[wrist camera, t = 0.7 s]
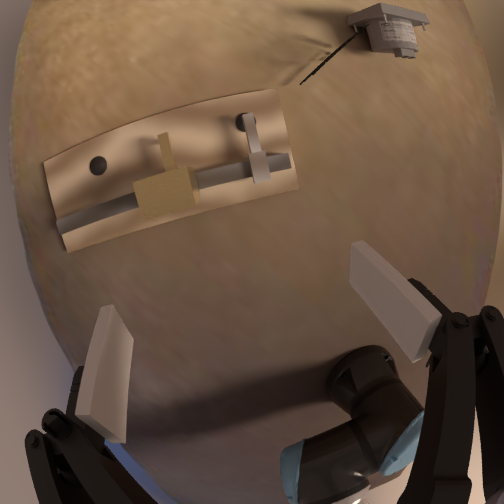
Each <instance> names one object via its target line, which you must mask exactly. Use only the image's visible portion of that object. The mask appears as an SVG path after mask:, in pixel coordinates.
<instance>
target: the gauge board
mask: <svg viewBox="0 0 504 504" xmlns="http://www.w3.org/2000/svg"><path fill="white" fill-rule="evenodd" d="M165 132H168V133H169V136H170V140H171V145H172V149H173V154H174V158H175V162H176V166H177V169H178V168H181V167H185V166H189V167H194V171H195V175H196V179H197V183H198V187H199V191H200V195H201V197H200V199H199V202H198V204H197V206H195V207H192V208H188V209H184V210H181V211H177V212H174V213H170V214H167V215H163V216H160V217H156V218H153V219H150V220H146V221H143V219H142V216H141V213H140V209H139V205H138V202H137V198H136V195H135V191H134V187H133V182H136V181H139V180H142V179H145V178H148V177H151V176H154V175H157V174H161V173H164V172H166V171H165V167H164V163H163V158H162V154H161V150H160V146H159V141H158V137H157V135H159V134H162V133H165ZM43 163H44V168H45V173H46V178H47V182H48V187H49V191H50V195H51V199H52V203H53V207H54V211H55V214H56V218H57V221H56V224H57V228H58V231H59V234H60V235H62V237H63V240H64V243H65V246H66V249H67V252H68V253H70V252H73V251H76V250H79V249H82V248H85V247H88V246H91V245H94V244H97V243H100V242H103V241H106V240H109V239H112V238H115V237H119V236H122V235H125V234H128V233H131V232H135V231H138V230H141V229H145V228H148V227H151V226H155V225H158V224H162V223H165V222H169V221H172V220H176V219H179V218H183V217H186V216H190V215H194V214H197V213H201V212H205V211H209V210H213V209H216V208H220V207H224V206H228V205H232V204H236V203H240V202H244V201H249V200H253V199H257V198H261V197H265V196H270V195H274V194H279V193H283V192H288V191H292V190H297V189H299V186H298V181H297V176H296V171H295V166H294V161H293V157H292V152H291V147H290V143H289V138H288V134H287V130H286V125H285V121H284V117H283V113H282V109H281V105H280V101H279V97H278V93H277V89H269V90H262V91H255V92H249V93H243V94H238V95H232V96H227V97H222V98H218V99H213V100H209V101H204V102H200V103H196V104H192V105H188V106H185V107H181V108H177V109H174V110H170V111H167V112H163V113H160V114H157V115H154V116H151V117H148V118H145V119H142V120H139V121H136V122H133V123H130V124H128V125H125V126H122V127H119V128H117V129H114V130H112V131H109V132H107V133H104V134H102V135H99V136H97V137H95V138H92V139H90V140H88V141H86V142H83V143H81V144H79V145H77V146H75V147H73V148H71V149H69V150H67V151H64V152H62V153H60V154H59V155H57V156H55V157H53V158H51V159H49V160H47V161H45V162H43Z"/></svg>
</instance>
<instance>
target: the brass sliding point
mask: <svg viewBox="0 0 504 504" xmlns="http://www.w3.org/2000/svg"><path fill="white" fill-rule="evenodd" d="M157 137H158V141H159V146H160V150H161V154H162V158H163V163H164V167H165V171H166V172H164V173H161V174H157V175H154V176H151V177H148V178H145V179H142V180H139V181H136V182H133V187H134V191H135V195H136V198H137V202H138V205H139V209H140V213H141V216H142V219H143V221H146V220H150V219H153V218H156V217H160V216H163V215H167V214H170V213H174V212H177V211H181V210H184V209H188V208H192V207H195V206H197V204H198V202H199V199H200V197H201V195H200V191H199V187H198V183H197V179H196V175H195V171H194V167H189V166H185V167H181V168H178V169H177V166H176V162H175V158H174V154H173V149H172V145H171V140H170V136H169V133H168V132H165V133H162V134H159V135H157Z"/></svg>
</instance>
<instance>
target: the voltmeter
mask: <svg viewBox="0 0 504 504" xmlns="http://www.w3.org/2000/svg"><path fill="white" fill-rule="evenodd" d="M347 22H348V26H354V28H355V32H357V33H356V34H355V35H353V36H352V37H351V38H350V39H348V40H347V41H346V42H345V43H344V44H342V45H341V46H340V47H339V48H338V49H336V50H335V51H334V52H333V53H332V54H331V55H330V56H328V57H327V58H326V59H325V60H324V62H322V63H321V64H320V65H319V66H318V67H317V68H316V69H315V70H314V71H313V72H312V73H311V74H309V75H308V76H307V77H306V78H305V79H304V80H303V81H302V82H301V83H300V85H301V84H302V83H303V82H305V81H306V80H307V79H308V78H309V77H310V76H311V75H314V74H315V73H316V72H317V71H318V70H319V69H320V68H321V67H322V66H323V65H324V64H325V62H328V61H329V60H330V59H331V58H332V57H333V56H334V55H335V54H336V53H337V52H338V51H340V50H341V49H342V48H343V47H344V46H345V45H346V44H347V43H348V42H350V41H351V40H352V39H353V38H354V37H355V36H357V35H358V34H359V33H360V32H361V31H362V30H363V29H364V28H367V32H368V36H369V40H370V45H371V49H372V51H373V52H380V53H394V54H395V57H402V58H408V59H411V58H415V52H418V46H417V42H416V38H415V34H414V30H413V27H414V26H420V25H422V26H423V30H424V31H426V29H425V26H424V25H426V24H430V22H429V20H428V18H427V16H426V14H423V13H420V12H417V11H413V10H409V9H405V8H402V7H397V6H393V5H388V4H384V3H378V4H376V5H373V6H371V7H368V8H366V9H363V10H361V11H359V12H356V13H354V14H352V15H349V16H347ZM356 26H358V27H364V28H363V29H361V30H360V31H357V28H356Z"/></svg>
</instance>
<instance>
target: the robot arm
mask: <svg viewBox="0 0 504 504" xmlns="http://www.w3.org/2000/svg"><path fill="white" fill-rule="evenodd" d="M349 284H350V285H351V286H352V287H353V288H354V290H355V291H356V292H357V293H358V294H359V296H360V297H361V298H362V299H363V300H364V302H365V303H366V304H367V305H368V307H369V308H370V309H371V310H372V312H373V313H374V314H375V315H376V317H377V318H378V319H379V320H380V322H381V323H382V324H383V325H384V327H385V328H386V329H387V330H388V332H389V333H390V334H391V336H392V337H393V338H394V339H395V341H396V342H397V343H398V345H399V346H400V347H401V349H402V350H403V351H404V353H405V354H406V355H407V357H408V358H409V359H410V361H411V362H412V363H414V362H416V361H418V360H419V359H421V358H423V357H424V356H425V354H426V352H427V350H428V349H429V350H430V351H431V352H432V354H431V356H430V358H429V360H428V362H427V364H426V367H428V365H429V364H430V368H429V379H428V388H427V396H426V404H425V409H424V408H423V407H422V405H421V404H420V403H419V402H418V400H417V399H416V398H415V397H414V396H413V394H412V393H411V392H410V391H409V390H408V388H407V387H406V386H405V385H404V384H403V383H402V381H401V380H400V378H399V375H398V371H397V368H396V365H395V362H394V359H393V357H392V356H391V354H390V353H389V352H388V351H387V350H386V349H385V348H383V347H381V346H367V347H364V348H361V349H358V350H356V351H354V352H352V353H351V354H349V355H348V356H346V357H345V358H344V359H342V360H341V361H340V362H339V363H338V364H337V365H336V366H335V368H334V369H333V370H332V372H331V373H330V375H329V377H328V379H327V383H326V389H327V392H328V394H329V396H330V398H331V400H332V401H333V402H334V403H335V404H336V405H338V406H339V407H340V408H341V409H343V410H344V411H345V412H346V413H348V414H349V415H350V416H351V418H352V420H350V421H348V422H345V423H343V424H341V425H339V426H337V427H334V428H332V429H330V430H328V431H325V432H323V433H320V434H318V435H316V436H313V437H311V438H308V439H306V438H305V439H303V440H302V441H300V442H297V443H295V444H293V445H290V446H288V447H286V448H285V449H284V450H283V451H282V453H281V455H280V473H281V480H282V484H283V488H284V492H285V494H286V496H287V499H288V501H289V503H291V504H368V502H367V500H366V497H365V496H366V493H367V491H368V489H369V487H370V483H369V481H368V479H367V477H368V476H370V475H372V474H374V473H376V472H378V471H379V472H380V474H383V475H384V476H388V475H391V474H392V473H395V472H397V471H399V470H401V469H402V468H404V467H405V466H407V465H408V464H409V463H410V462H412V461H413V460H414V462H413V466H412V470H411V473H410V476H409V479H408V483H407V486H406V488H405V490H404V492H403V493H402V495H401V496H400V498H399V500H398V502H397V504H468V501H469V496H470V493H471V488H472V482H471V480H470V479H469V477H468V475H467V473H468V467H469V461H470V455H471V447H472V440H473V431H474V419H475V406H476V411H477V418H478V425H479V433H480V441H481V453H482V475H483V490H484V496H485V500H486V503H485V504H504V318H503V316H502V314H501V313H500V311H499V310H498V309H497V308H495V307H493V306H484V307H483V308H482V309H481V312H480V314H479V315H476V316H471V317H467V316H466V315H465V314H463V313H459V312H454V313H452V312H451V311H450V310H449V309H448V308H447V307H446V306H445V305H444V304H443V303H442V302H441V301H440V300H439V299H438V298H437V297H436V296H435V295H433V293H432V292H430V291H429V290H428V289H427V288H426V287H425V286H424V285H423V284H422V283H421V282H419V281H417V280H415V279H413V278H411V279H408V280H406V279H405V278H404V277H403V276H402V275H401V274H400V273H399V272H398V271H397V270H396V269H395V268H393V267H392V266H391V265H390V264H389V263H388V262H387V261H386V260H385V259H384V258H382V257H381V256H380V255H379V254H378V253H377V252H376V251H375V250H373V249H372V248H371V247H370V246H369V245H368V244H367V243H365V242H364V241H363V240H361V241H358V242H354V243H351V260H350V279H349ZM133 341H134V339H133V338H132V336H131V334H130V333H129V331H128V329H127V328H126V326H125V324H124V323H123V321H122V319H121V318H120V316H119V314H118V313H117V311H116V309H115V307H114V305H113V304H112V305H107V306H103V307H101V309H100V312H99V315H98V318H97V322H96V325H95V328H94V332H93V335H92V339H91V343H90V346H89V350H88V354H87V358H86V362H85V366H79V367H78V369H77V371H76V372H75V374H74V377H73V382H72V386H71V390H70V391H71V393H70V395H69V400H68V405H67V410H66V415H65V414H63V412H61V411H60V410H59V409H56V408H55V409H50V410H49V411H47V412H46V413H45V414H44V417H43V419H42V429H43V430H44V431H45V432H47V433H46V434H42V433H41V432H40V431H38V430H35V429H34V430H31V431H30V432H29V433H28V434H27V435H26V438H25V448H26V454H27V459H28V463H29V468H30V472H31V476H32V480H33V484H34V488H35V491H36V494H37V497H38V501H39V504H158V503H157V502H156V501H155V500H154V499H153V498H152V497H151V496H150V495H149V494H148V493H147V492H146V491H145V490H144V489H143V488H142V487H141V486H140V485H139V484H138V483H137V482H136V481H135V479H134V478H133V477H132V476H131V475H130V474H129V473H128V471H126V469H125V468H124V467H123V466H122V464H121V463H120V462H119V461H118V460H117V458H116V457H115V456H114V455H113V453H112V452H111V451H110V449H109V448H108V447H107V446H106V445H104V441H105V439H107V440H108V441H109V442H111V443H126V419H127V401H128V387H129V376H130V366H131V357H132V349H133ZM487 349H488V350H487ZM488 351H489V352H488Z"/></svg>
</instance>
